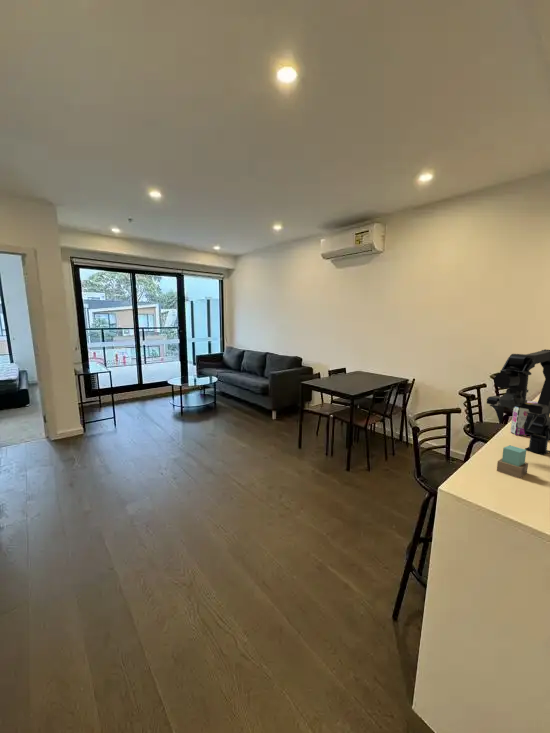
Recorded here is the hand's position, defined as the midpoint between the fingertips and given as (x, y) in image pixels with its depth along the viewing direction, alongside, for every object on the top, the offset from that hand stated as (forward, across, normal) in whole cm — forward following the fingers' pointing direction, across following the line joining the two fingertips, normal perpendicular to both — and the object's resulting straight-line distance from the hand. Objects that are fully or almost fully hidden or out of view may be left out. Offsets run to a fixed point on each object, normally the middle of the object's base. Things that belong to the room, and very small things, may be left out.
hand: (513, 425), depth 125 cm
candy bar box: (+13, -10, +38) cm, 42 cm away
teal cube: (+9, +7, -14) cm, 18 cm away
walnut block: (+13, +7, -14) cm, 20 cm away
